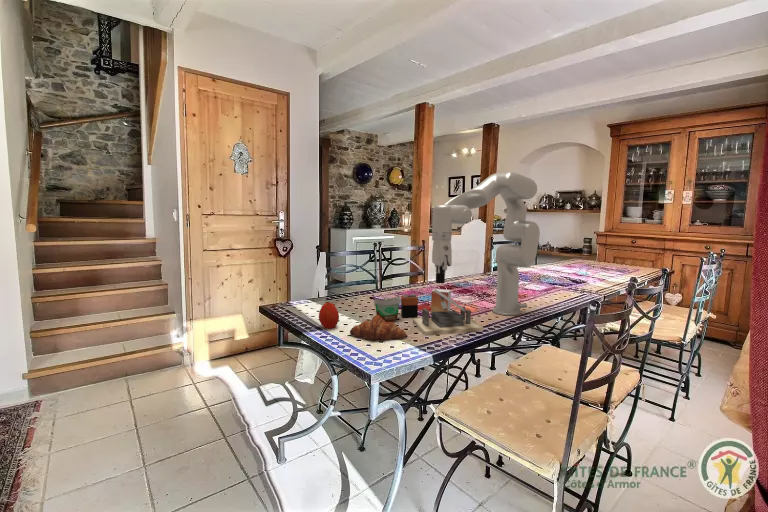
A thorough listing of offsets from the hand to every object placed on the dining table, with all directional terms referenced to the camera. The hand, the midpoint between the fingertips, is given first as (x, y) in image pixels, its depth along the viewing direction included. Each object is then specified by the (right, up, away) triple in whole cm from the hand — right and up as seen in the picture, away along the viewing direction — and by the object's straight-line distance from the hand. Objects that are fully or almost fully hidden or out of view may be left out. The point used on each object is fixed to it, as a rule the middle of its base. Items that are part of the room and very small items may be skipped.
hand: (440, 282), depth 147 cm
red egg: (-45, -18, +2) cm, 48 cm away
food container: (-20, -17, +10) cm, 28 cm away
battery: (-11, -16, +17) cm, 26 cm away
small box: (+4, -16, +24) cm, 29 cm away
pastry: (-24, -20, -8) cm, 33 cm away
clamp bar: (+5, -8, +2) cm, 10 cm away
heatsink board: (+3, -18, +3) cm, 19 cm away
